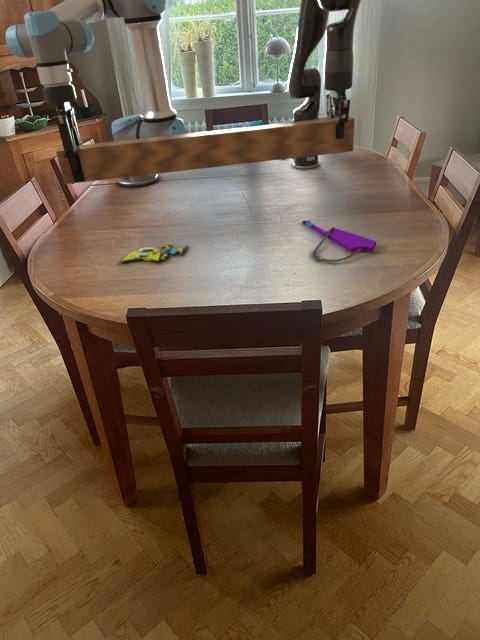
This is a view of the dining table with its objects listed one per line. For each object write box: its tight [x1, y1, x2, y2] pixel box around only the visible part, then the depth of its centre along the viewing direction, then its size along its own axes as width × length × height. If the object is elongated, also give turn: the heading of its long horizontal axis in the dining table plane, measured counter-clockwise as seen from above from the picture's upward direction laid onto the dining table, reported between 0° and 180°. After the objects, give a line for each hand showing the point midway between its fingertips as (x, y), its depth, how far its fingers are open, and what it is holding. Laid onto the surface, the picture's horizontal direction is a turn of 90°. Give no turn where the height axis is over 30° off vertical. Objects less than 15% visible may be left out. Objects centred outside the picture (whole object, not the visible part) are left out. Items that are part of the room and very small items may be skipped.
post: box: [55, 116, 356, 185], centre depth 133 cm, size 80×5×9 cm, turn 98°
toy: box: [120, 244, 187, 264], centre depth 126 cm, size 10×1×15 cm
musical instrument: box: [301, 219, 377, 263], centre depth 123 cm, size 24×2×20 cm
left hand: (81, 177), depth 132 cm, fingers closed on post, 5 cm apart
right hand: (336, 136), depth 135 cm, fingers closed on post, 5 cm apart
